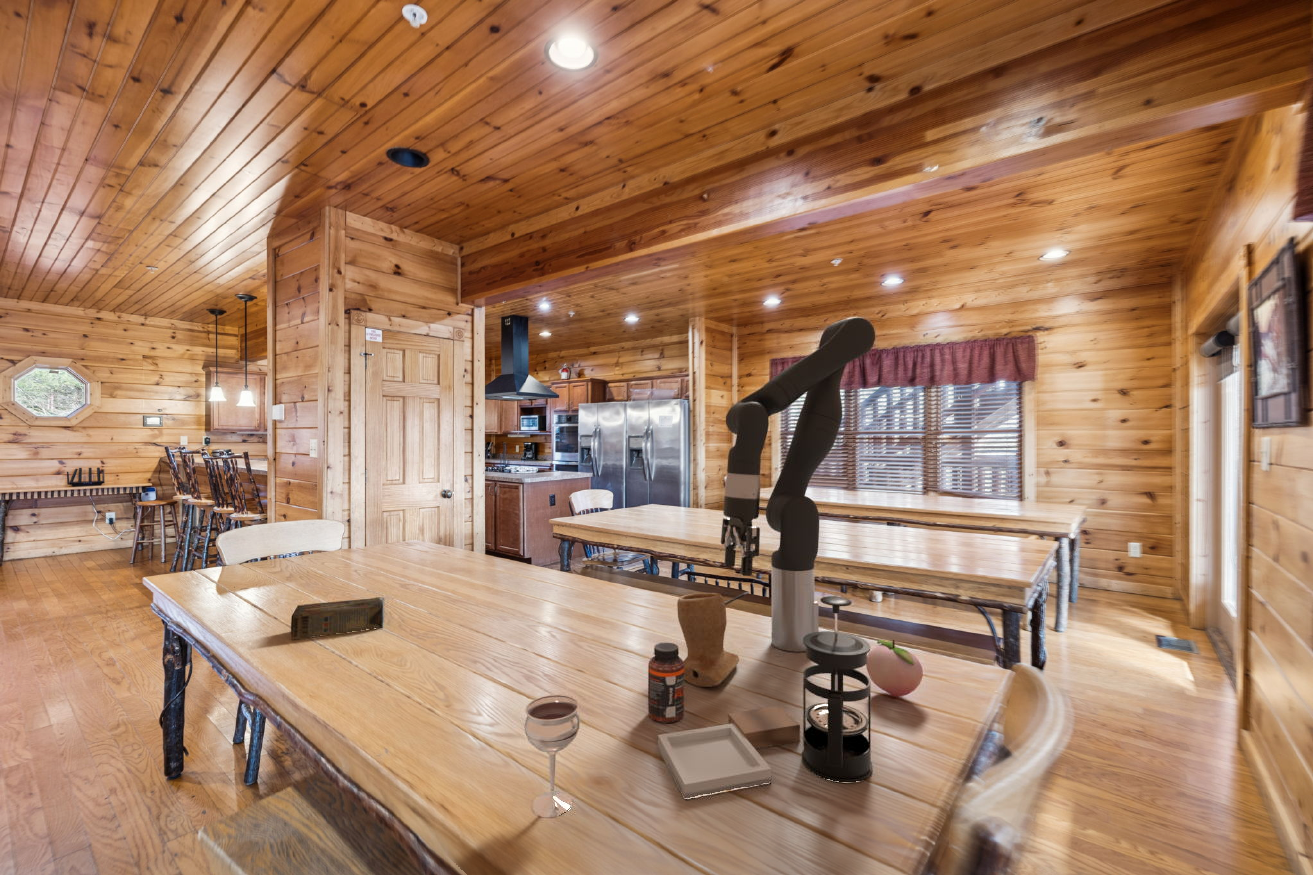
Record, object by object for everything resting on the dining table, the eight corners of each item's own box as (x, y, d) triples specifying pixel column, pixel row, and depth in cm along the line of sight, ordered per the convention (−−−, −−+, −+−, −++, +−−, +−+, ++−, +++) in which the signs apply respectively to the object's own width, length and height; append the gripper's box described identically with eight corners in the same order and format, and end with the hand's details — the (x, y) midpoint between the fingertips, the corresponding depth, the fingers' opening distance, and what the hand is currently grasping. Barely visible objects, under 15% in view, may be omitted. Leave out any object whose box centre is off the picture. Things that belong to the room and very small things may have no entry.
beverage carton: (384, 629, 132) (384, 602, 132) (289, 642, 124) (289, 613, 124) (385, 619, 139) (385, 593, 139) (295, 631, 131) (295, 603, 131)
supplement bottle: (681, 726, 86) (681, 654, 86) (644, 722, 88) (644, 651, 88) (686, 708, 92) (686, 641, 92) (652, 705, 93) (652, 638, 94)
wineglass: (513, 814, 66) (513, 714, 66) (543, 781, 72) (543, 690, 73) (562, 828, 64) (562, 725, 64) (589, 793, 70) (589, 699, 70)
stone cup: (691, 653, 116) (691, 582, 116) (745, 663, 111) (745, 589, 111) (659, 681, 103) (659, 601, 103) (718, 694, 97) (718, 610, 97)
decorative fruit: (854, 690, 99) (854, 634, 99) (888, 682, 102) (888, 628, 102) (896, 714, 90) (896, 653, 90) (932, 704, 93) (931, 645, 94)
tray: (733, 736, 84) (733, 723, 84) (771, 783, 72) (771, 768, 72) (658, 748, 80) (658, 734, 80) (684, 800, 69) (684, 784, 69)
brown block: (780, 721, 88) (780, 705, 88) (800, 741, 82) (799, 724, 82) (728, 729, 85) (728, 713, 85) (744, 750, 80) (744, 733, 80)
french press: (804, 737, 83) (804, 585, 83) (871, 748, 80) (870, 591, 80) (797, 782, 72) (797, 608, 72) (874, 798, 69) (873, 615, 69)
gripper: (773, 499, 112) (769, 578, 111) (743, 492, 126) (739, 563, 125) (740, 497, 110) (735, 579, 109) (713, 491, 124) (708, 563, 123)
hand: (737, 570), depth 117 cm, fingers open, 8 cm apart
